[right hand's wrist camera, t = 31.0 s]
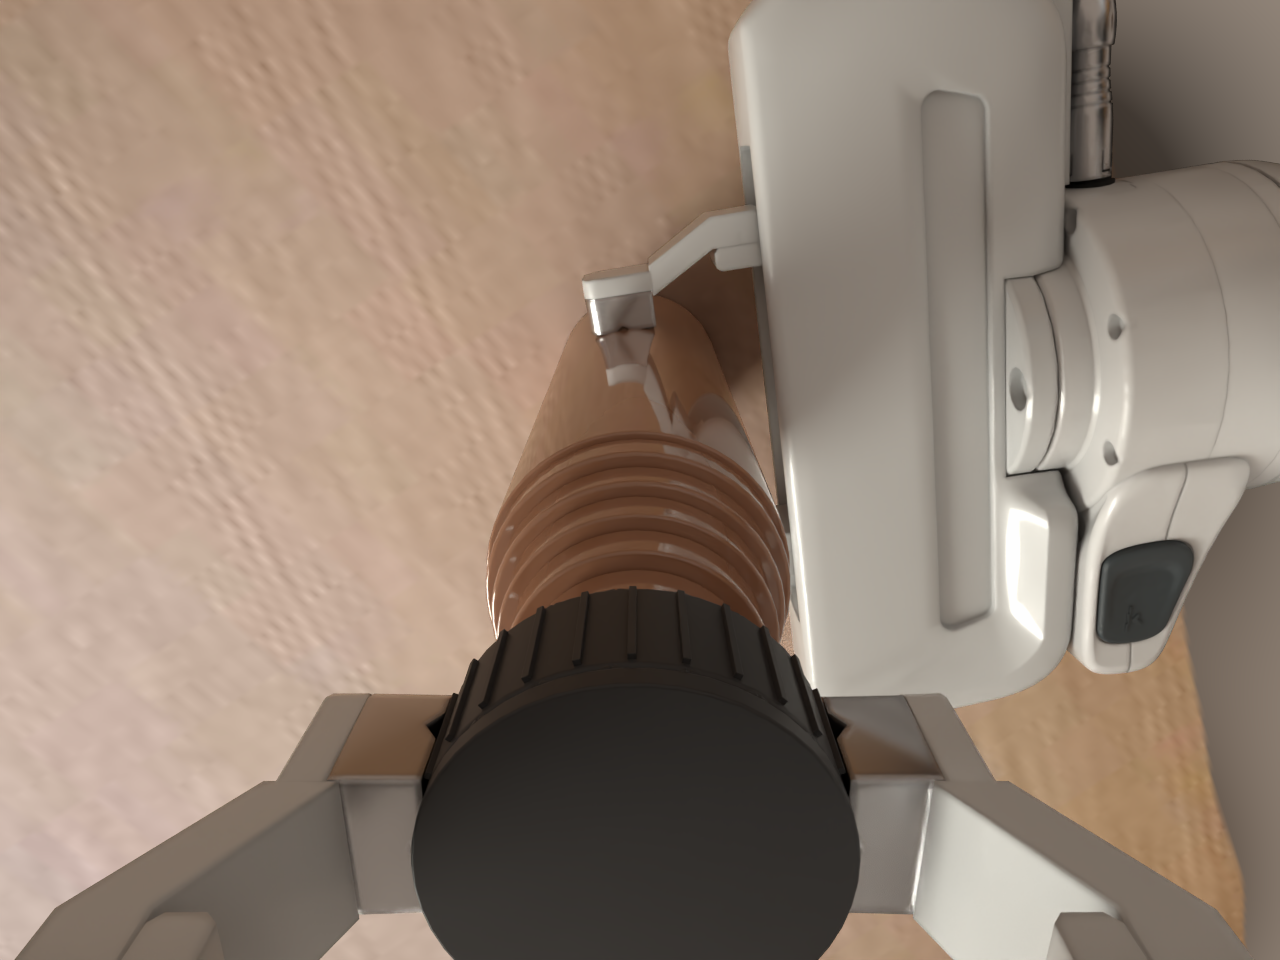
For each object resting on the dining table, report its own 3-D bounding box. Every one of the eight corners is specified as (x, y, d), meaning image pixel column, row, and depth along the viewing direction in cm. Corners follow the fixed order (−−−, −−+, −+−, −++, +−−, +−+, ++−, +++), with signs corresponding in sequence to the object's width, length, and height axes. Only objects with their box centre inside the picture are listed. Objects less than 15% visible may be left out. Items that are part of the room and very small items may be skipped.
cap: (896, 791, 11) (948, 921, 9) (591, 947, 11) (582, 1093, 10) (692, 505, 9) (705, 590, 7) (366, 709, 10) (306, 828, 8)
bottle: (575, 453, 30) (455, 1012, 10) (549, 305, 29) (340, 641, 9) (724, 433, 30) (888, 966, 10) (706, 281, 28) (865, 573, 8)
